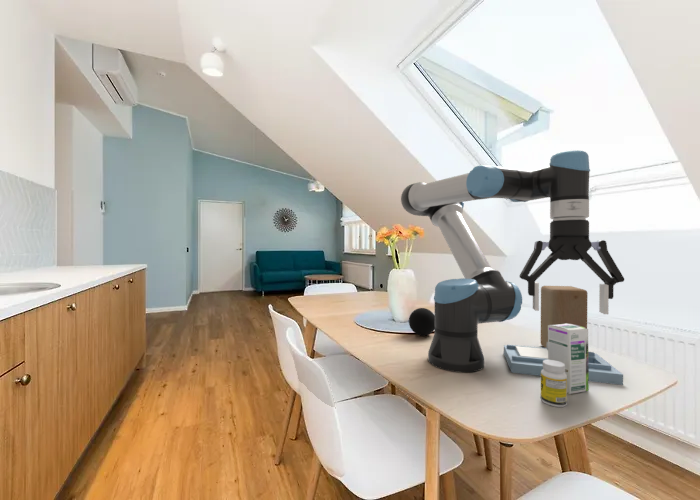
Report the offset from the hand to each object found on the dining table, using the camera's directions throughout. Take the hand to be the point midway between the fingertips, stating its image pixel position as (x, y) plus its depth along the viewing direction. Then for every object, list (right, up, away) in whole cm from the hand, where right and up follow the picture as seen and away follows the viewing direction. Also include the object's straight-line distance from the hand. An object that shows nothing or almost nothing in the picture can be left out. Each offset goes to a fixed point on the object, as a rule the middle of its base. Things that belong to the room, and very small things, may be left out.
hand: (568, 311), depth 76 cm
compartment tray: (+5, -18, +13) cm, 23 cm away
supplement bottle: (-8, -18, -7) cm, 21 cm away
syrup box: (0, -18, 0) cm, 18 cm away
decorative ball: (-24, -18, +45) cm, 54 cm away
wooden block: (+16, -18, +27) cm, 37 cm away
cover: (+1, -15, +15) cm, 21 cm away
